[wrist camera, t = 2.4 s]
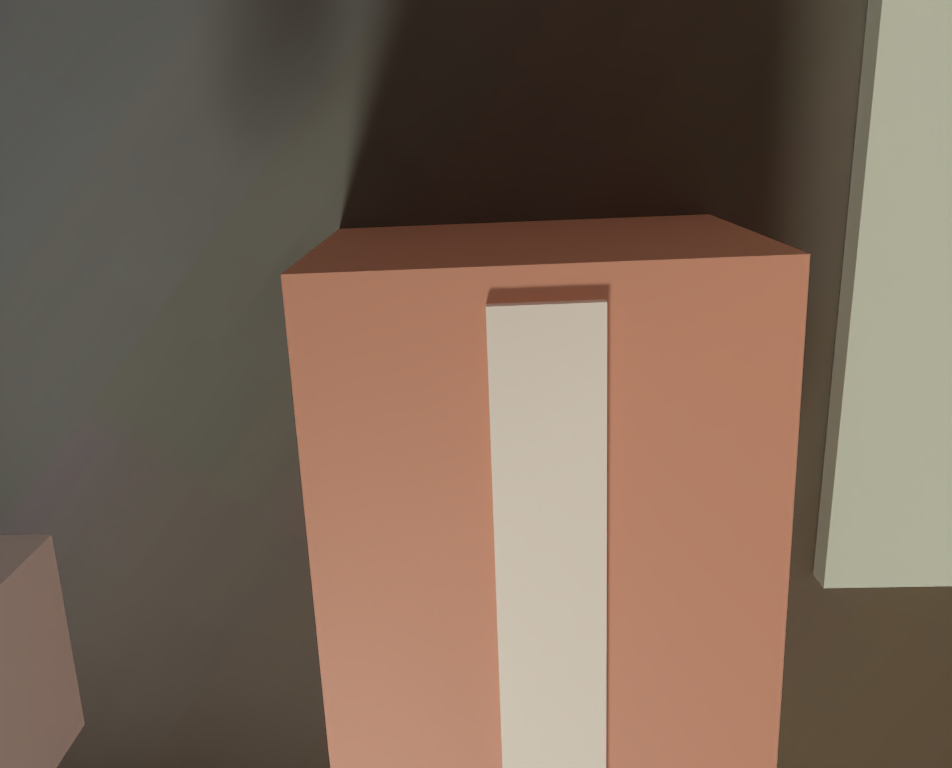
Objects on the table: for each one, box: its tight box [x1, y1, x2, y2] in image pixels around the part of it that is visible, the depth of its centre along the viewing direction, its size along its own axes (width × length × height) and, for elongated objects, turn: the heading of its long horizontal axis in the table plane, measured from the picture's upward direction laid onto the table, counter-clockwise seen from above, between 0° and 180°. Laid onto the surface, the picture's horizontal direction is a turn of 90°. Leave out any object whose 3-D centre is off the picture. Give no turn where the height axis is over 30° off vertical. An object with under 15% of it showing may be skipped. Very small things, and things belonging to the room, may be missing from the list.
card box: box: [281, 214, 810, 768], centre depth 16 cm, size 9×7×6 cm
